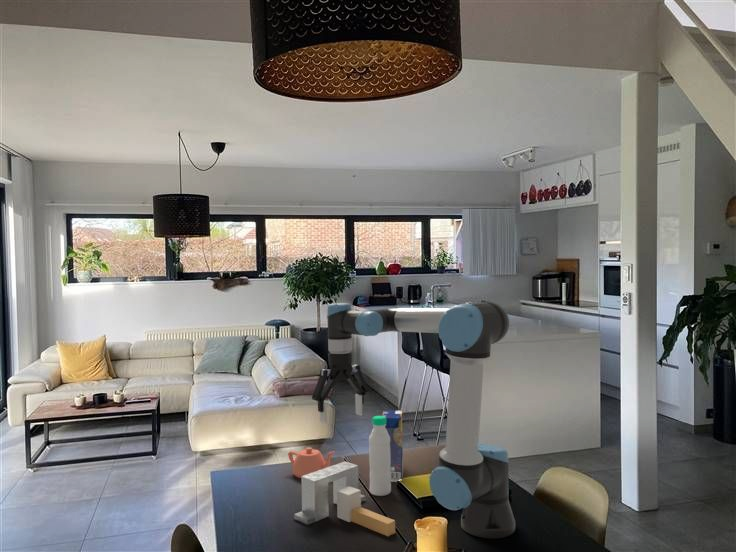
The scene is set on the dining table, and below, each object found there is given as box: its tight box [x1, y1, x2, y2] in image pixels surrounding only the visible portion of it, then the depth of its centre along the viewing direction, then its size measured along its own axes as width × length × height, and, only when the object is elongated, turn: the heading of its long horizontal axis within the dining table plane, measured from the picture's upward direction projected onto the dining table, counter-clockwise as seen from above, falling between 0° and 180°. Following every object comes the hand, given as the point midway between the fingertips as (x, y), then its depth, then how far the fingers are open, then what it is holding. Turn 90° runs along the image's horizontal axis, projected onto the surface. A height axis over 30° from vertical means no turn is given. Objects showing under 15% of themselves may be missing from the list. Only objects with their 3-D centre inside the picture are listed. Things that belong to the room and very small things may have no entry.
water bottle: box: [368, 415, 392, 497], centre depth 197 cm, size 7×7×25 cm
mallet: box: [336, 486, 396, 537], centre depth 174 cm, size 20×5×8 cm, turn 46°
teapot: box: [287, 446, 336, 479], centre depth 215 cm, size 12×18×10 cm
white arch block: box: [293, 461, 367, 526], centre depth 184 cm, size 6×24×12 cm, turn 136°
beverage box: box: [381, 409, 404, 483], centre depth 212 cm, size 7×11×22 cm, turn 175°
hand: (341, 418), depth 191 cm, fingers open, 13 cm apart
